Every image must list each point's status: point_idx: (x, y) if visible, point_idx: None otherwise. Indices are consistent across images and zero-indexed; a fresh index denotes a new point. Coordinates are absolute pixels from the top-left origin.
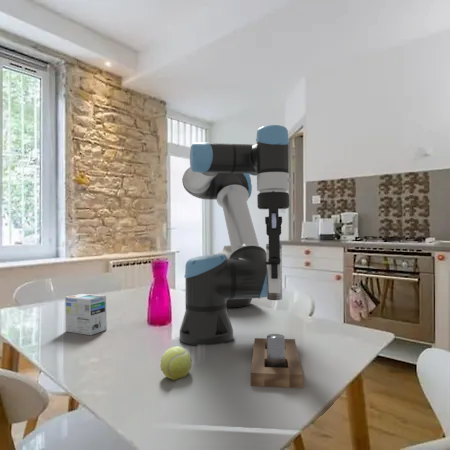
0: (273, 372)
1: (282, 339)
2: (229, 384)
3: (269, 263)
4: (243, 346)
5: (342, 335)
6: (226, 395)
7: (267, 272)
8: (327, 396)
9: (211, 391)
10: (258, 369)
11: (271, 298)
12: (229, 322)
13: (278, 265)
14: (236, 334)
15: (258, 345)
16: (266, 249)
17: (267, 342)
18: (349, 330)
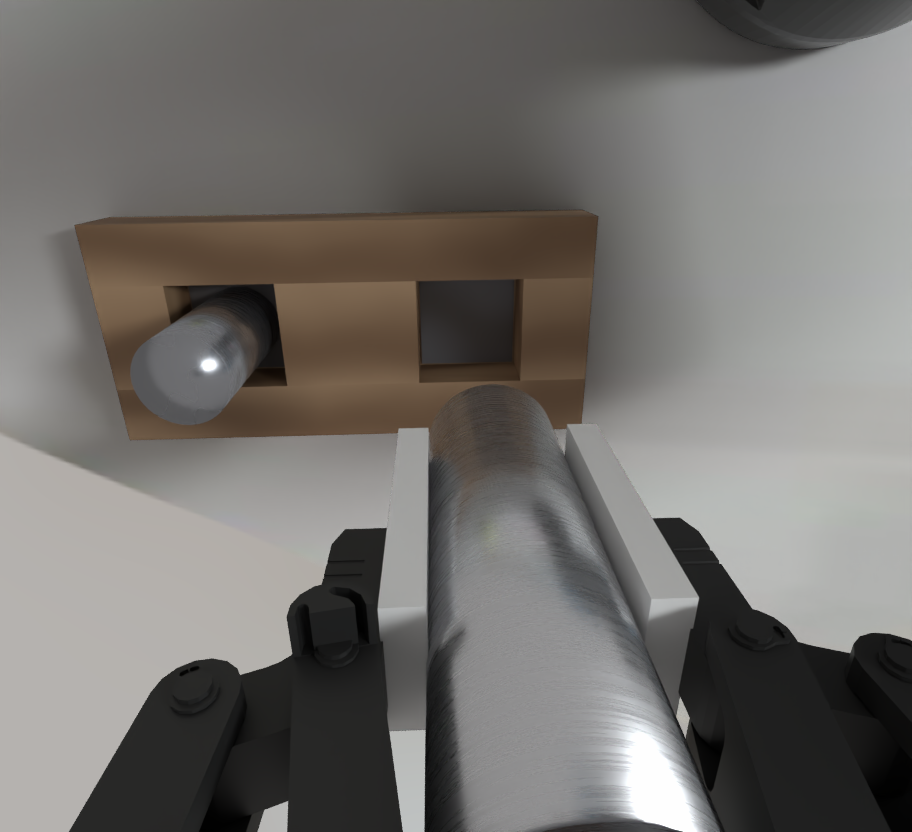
0: (114, 327)
1: (159, 412)
2: (119, 112)
3: (306, 642)
4: (644, 137)
5: (777, 604)
6: (7, 112)
7: (479, 518)
8: (136, 484)
9: (17, 29)
10: (124, 260)
11: (432, 425)
12: (853, 3)
13: (387, 706)
14: (886, 65)
15: (467, 244)
16: (572, 800)
17: (166, 328)
18: (845, 638)
